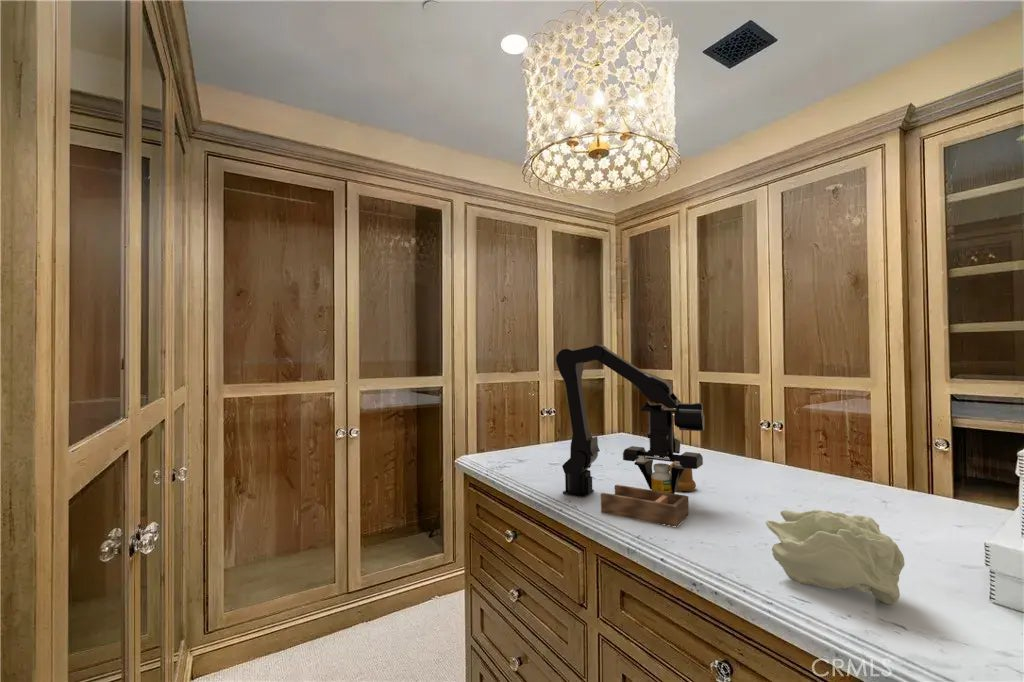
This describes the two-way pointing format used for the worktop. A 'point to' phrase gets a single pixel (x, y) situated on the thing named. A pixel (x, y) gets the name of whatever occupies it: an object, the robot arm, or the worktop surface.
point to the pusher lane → (645, 505)
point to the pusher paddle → (662, 499)
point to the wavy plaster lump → (838, 552)
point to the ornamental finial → (685, 480)
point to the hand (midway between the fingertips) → (662, 491)
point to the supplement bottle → (661, 478)
